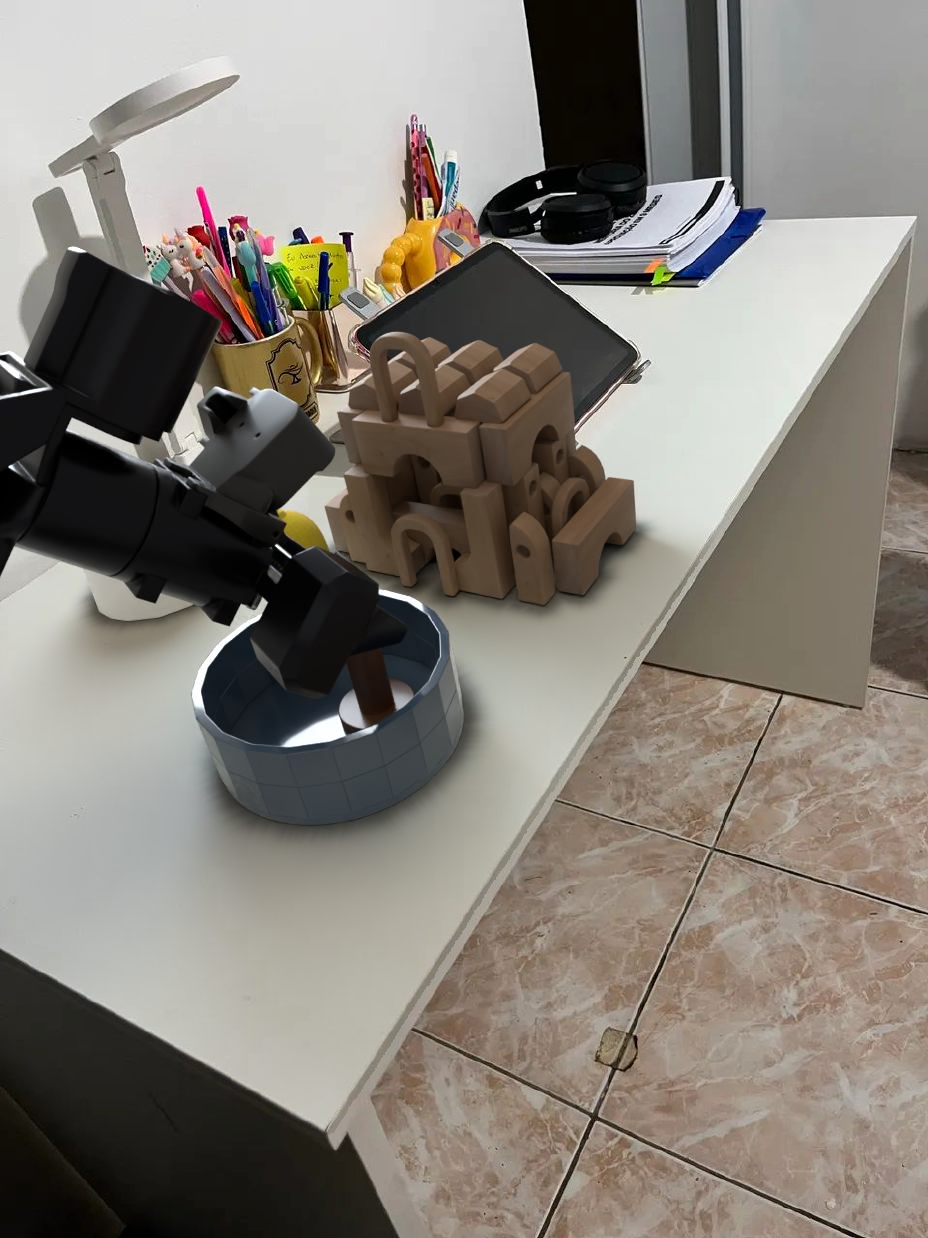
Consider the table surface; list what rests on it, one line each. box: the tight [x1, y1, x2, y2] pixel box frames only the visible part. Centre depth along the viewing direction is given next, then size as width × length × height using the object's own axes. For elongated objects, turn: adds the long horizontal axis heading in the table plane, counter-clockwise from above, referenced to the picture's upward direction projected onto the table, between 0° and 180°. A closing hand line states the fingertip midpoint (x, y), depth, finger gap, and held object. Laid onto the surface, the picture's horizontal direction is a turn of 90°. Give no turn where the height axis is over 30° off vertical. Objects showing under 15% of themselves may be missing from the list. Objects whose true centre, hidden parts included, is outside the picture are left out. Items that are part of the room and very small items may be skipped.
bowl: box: [190, 589, 464, 826], centre depth 57 cm, size 15×15×6 cm
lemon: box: [277, 508, 331, 552], centre depth 69 cm, size 6×6×8 cm
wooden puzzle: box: [323, 331, 637, 606], centre depth 69 cm, size 22×15×19 cm, turn 59°
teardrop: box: [83, 569, 194, 622], centre depth 74 cm, size 11×11×12 cm
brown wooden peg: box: [338, 648, 415, 734], centre depth 56 cm, size 5×5×10 cm
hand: (374, 610), depth 55 cm, fingers open, 6 cm apart
